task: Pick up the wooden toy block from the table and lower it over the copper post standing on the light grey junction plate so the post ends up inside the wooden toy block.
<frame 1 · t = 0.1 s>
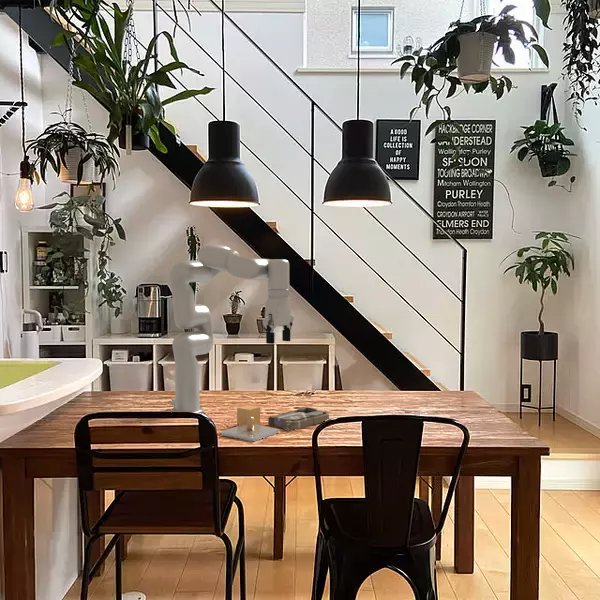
hand: (278, 342, 236), 31 cm above the table, tool pointing down, fingers open, 9 cm apart
junction plate: (250, 434, 229), on the table
wooden toy block: (248, 424, 243), on the table
grey flat case: (298, 423, 248), on the table
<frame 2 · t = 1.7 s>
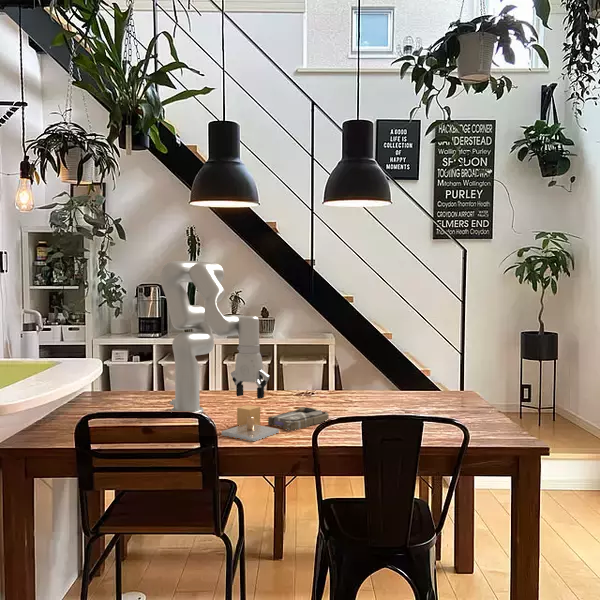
hand: (250, 396, 242), 10 cm above the table, tool pointing down, fingers open, 9 cm apart
nothing on the table moved.
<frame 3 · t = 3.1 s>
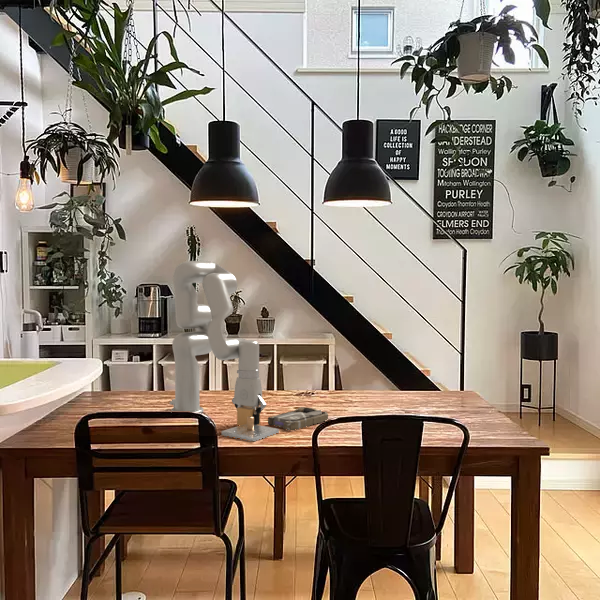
hand: (248, 422, 243), 1 cm above the table, tool pointing down, fingers closed on wooden toy block, 5 cm apart
wooden toy block: (248, 425, 243), on the table, touching gripper
everything else where it was.
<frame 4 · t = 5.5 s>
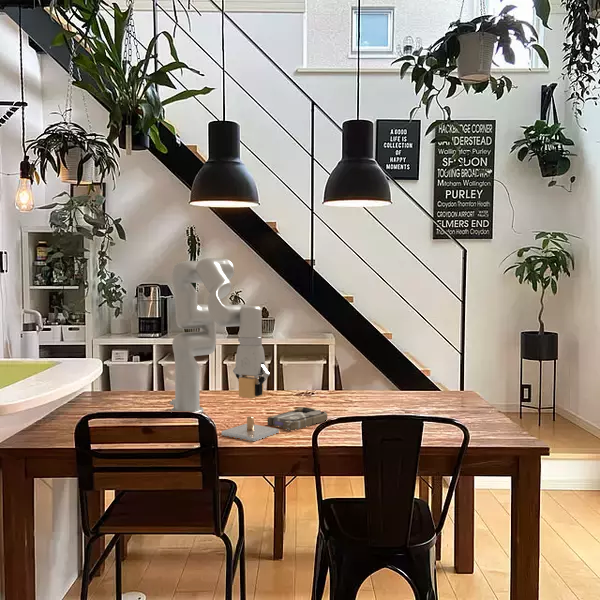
hand: (251, 393, 228), 14 cm above the table, tool pointing down, fingers closed on wooden toy block, 5 cm apart
wooden toy block: (251, 396, 228), point 13 cm above the table, touching gripper
everything else where it was.
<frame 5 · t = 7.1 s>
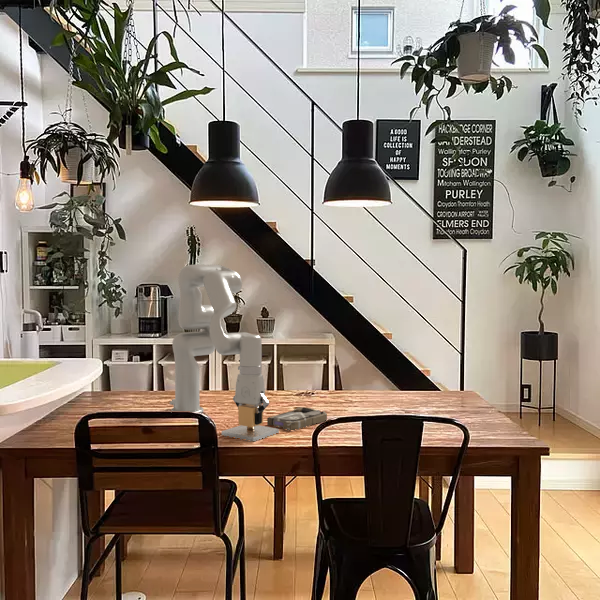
hand: (250, 422, 229), 4 cm above the table, tool pointing down, fingers closed on wooden toy block, 5 cm apart
wooden toy block: (250, 424, 229), point 4 cm above the table, touching gripper
everything else where it was.
when the fingers open (3 cm above the table, at t = 8.2 s): wooden toy block stays where it is, resting on junction plate.
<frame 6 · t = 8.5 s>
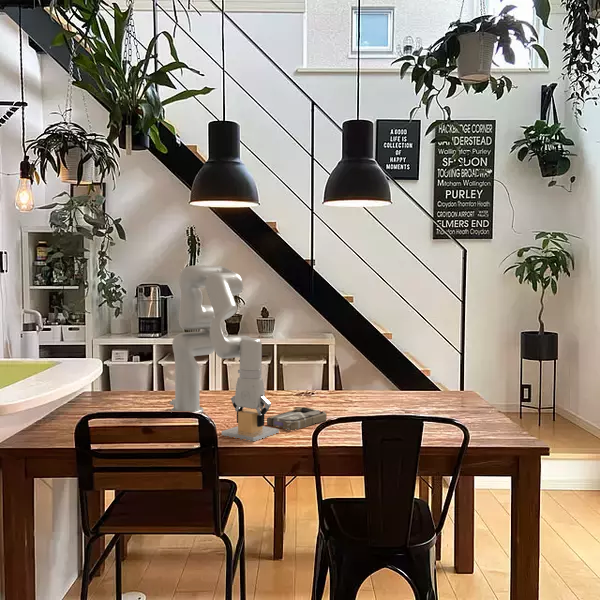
hand: (250, 424, 229), 4 cm above the table, tool pointing down, fingers open, 8 cm apart
wooden toy block: (250, 429, 229), point 1 cm above the table, touching junction plate
everything else where it was.
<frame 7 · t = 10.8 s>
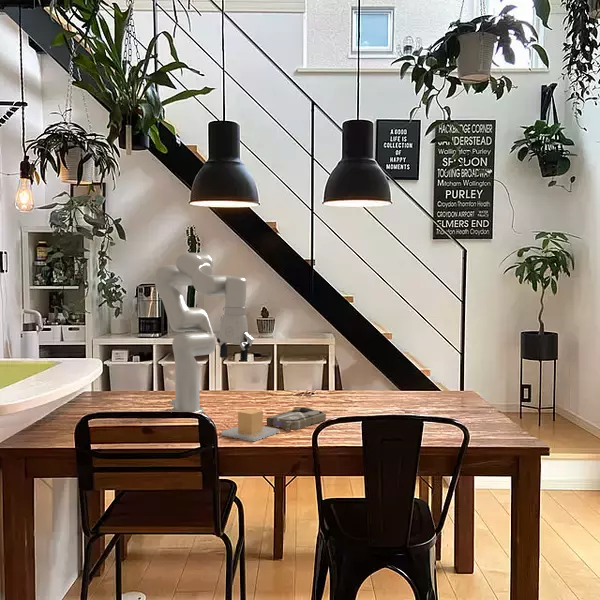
hand: (233, 358, 239), 25 cm above the table, tool pointing down, fingers open, 9 cm apart
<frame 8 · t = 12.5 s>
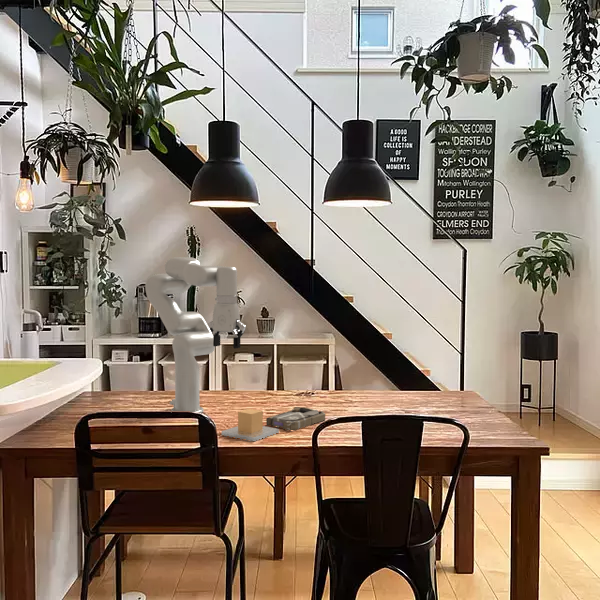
hand: (226, 347, 243), 28 cm above the table, tool pointing down, fingers open, 9 cm apart
at the end: wooden toy block 0.1 cm from the junction plate (horizontally); wooden toy block point 1.5 cm above the table; wooden toy block tilted 0° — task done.
